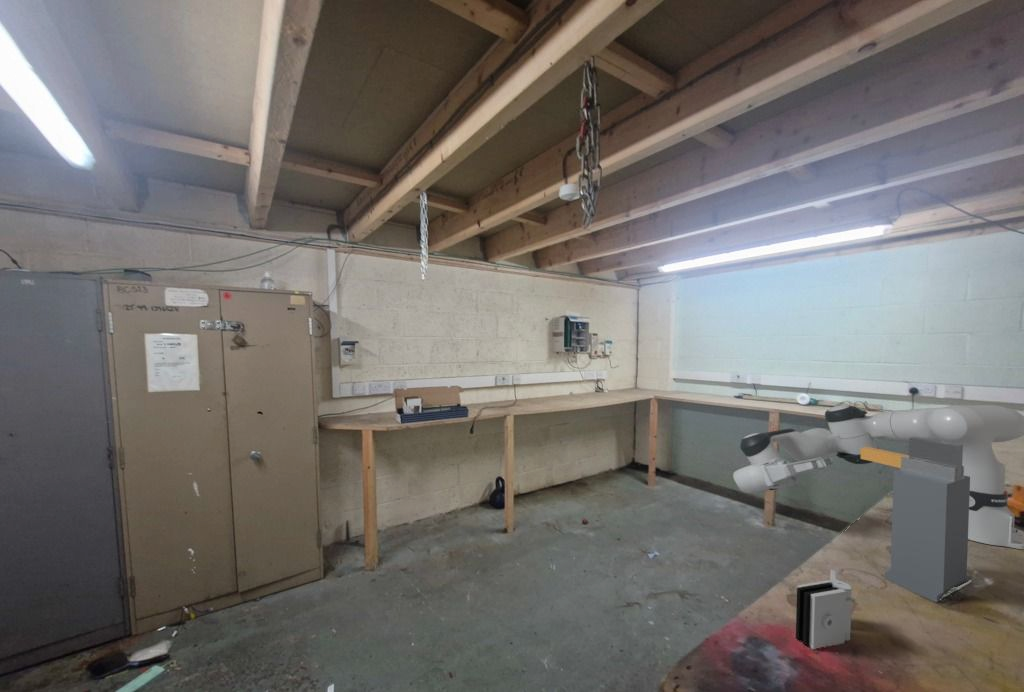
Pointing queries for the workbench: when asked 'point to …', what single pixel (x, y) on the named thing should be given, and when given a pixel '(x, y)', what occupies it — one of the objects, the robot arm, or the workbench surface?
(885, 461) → the bar
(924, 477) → the stand
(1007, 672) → the workbench surface
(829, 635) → the hinge
